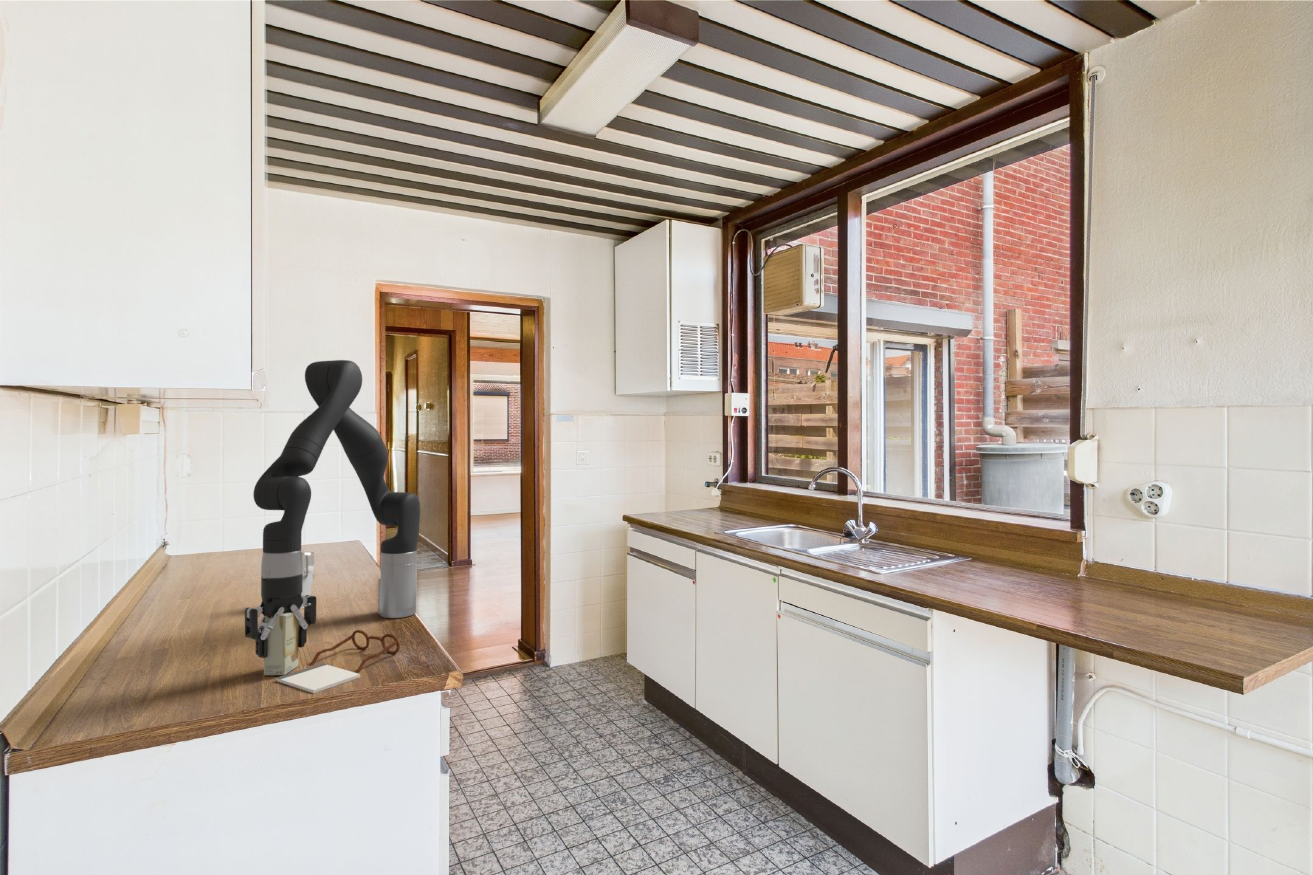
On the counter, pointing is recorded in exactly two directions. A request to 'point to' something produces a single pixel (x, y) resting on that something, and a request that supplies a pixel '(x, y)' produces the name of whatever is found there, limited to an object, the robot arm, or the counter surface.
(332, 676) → the board
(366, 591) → the counter surface
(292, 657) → the skincare box
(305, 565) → the beer glass
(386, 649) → the glasses
